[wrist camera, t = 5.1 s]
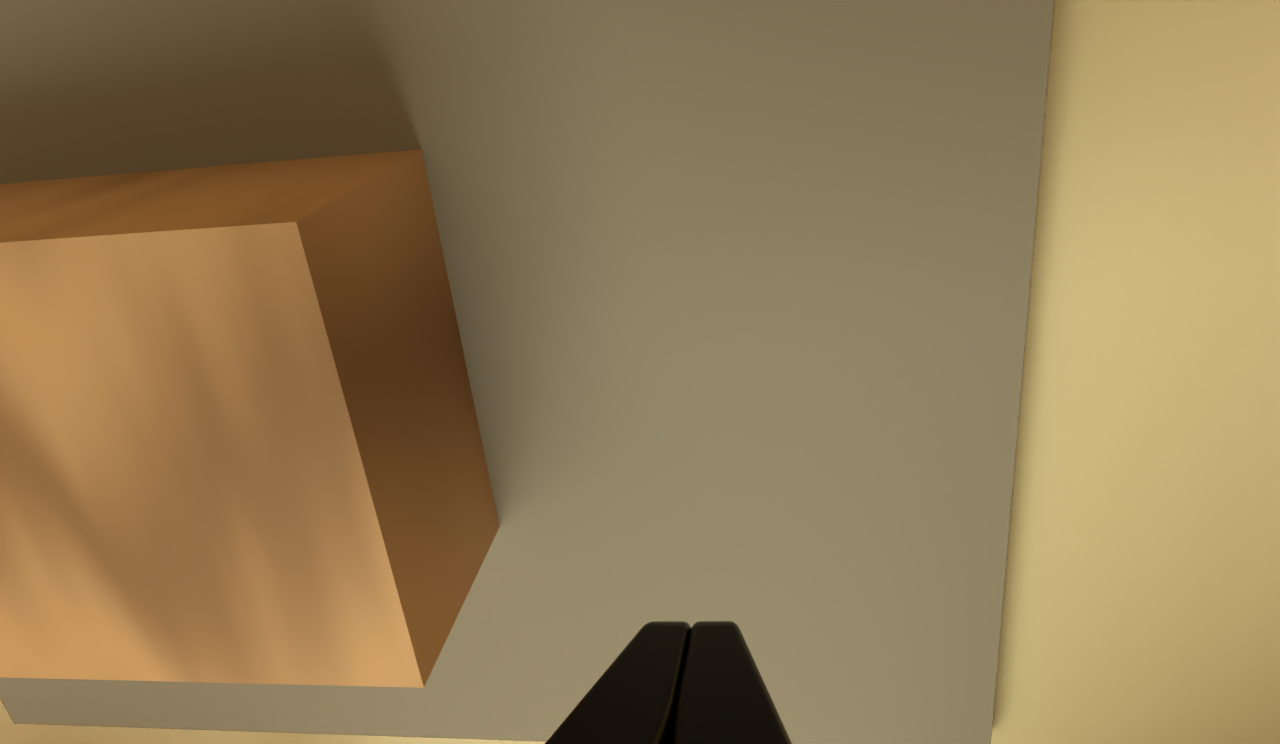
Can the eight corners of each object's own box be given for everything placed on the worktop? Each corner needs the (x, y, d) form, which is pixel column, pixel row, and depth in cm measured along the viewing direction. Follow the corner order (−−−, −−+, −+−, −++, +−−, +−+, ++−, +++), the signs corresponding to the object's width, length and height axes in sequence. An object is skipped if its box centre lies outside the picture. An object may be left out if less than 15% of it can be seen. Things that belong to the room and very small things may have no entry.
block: (423, 687, 13) (-97, 674, 14) (499, 527, 17) (75, 530, 18) (296, 221, 10) (-342, 266, 12) (421, 149, 14) (-78, 189, 15)
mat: (984, 736, 18) (989, 756, 17) (29, 707, 21) (13, 723, 21) (1075, -402, 10) (1090, -417, 10) (-422, -147, 14) (-462, -150, 13)
